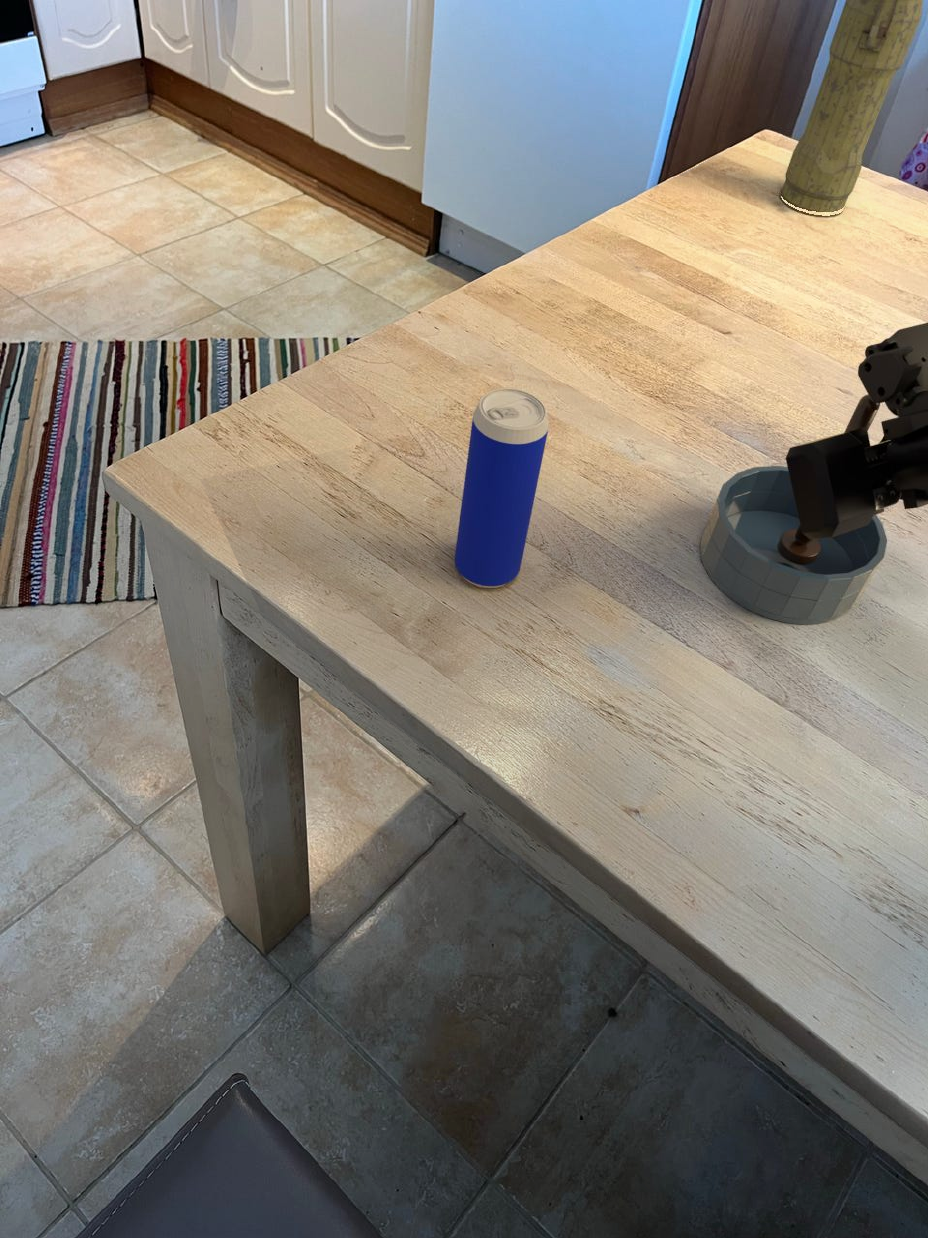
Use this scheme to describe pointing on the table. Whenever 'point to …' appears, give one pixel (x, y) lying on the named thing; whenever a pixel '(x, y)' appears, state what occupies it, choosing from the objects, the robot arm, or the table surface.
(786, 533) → the stirrer
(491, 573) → the beverage can
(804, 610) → the bowl
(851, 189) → the olive tall cylinder
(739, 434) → the table surface
